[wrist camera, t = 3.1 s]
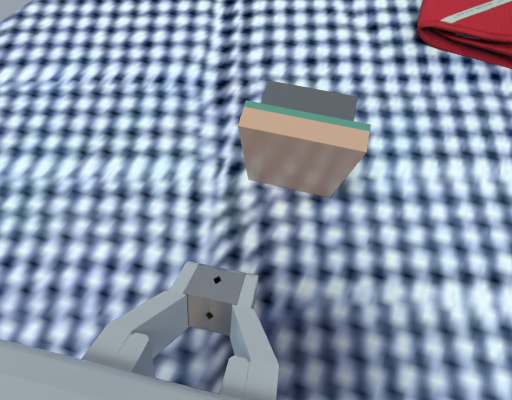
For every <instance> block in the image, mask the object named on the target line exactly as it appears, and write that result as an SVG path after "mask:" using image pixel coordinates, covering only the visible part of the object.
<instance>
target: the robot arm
mask: <svg viewBox="0 0 512 400" xmlns="http://www.w3.org/2000/svg"><path fill="white" fill-rule="evenodd" d="M257 283H258V275H254V274H249V273H244V272H239V271H234V270H228V269H222V268H218V267H213V266H209V265H205V264H199V263H195V262H191V261H188V262H187V263H186V264H185V265H184V267H183V269H182V270H181V272H180V274H179V276H178V277H177V279H176V281H175V282H174V284H173V286H172V287H171V289H170V291H167V290H165V291H164V292H162V293H160V294H159V295H157V296H155V297H153V298H152V299H150V300H148V301H147V302H145V303H143V304H141V305H140V306H138V307H136V308H135V309H133V310H131V311H129V312H128V313H126V314H124V315H123V316H121V317H119V318H117V319H116V320H114V321H112V322H111V323H109V324H107V326H106V327H105V328H104V330H103V331H102V332H101V334H100V335H99V336H98V338H97V339H96V340H95V342H94V343H93V344H92V346H91V347H90V348H89V350H88V351H87V352H86V354H85V355H84V356H83V358H82V359H78V358H74V357H70V356H66V355H62V354H58V353H54V352H50V351H46V350H42V349H38V348H34V347H30V346H26V345H22V344H18V343H14V342H10V341H6V340H2V339H0V400H276V395H277V384H278V373H279V364H278V361H277V359H276V357H275V355H274V352H273V350H272V348H271V345H270V343H269V341H268V339H267V336H266V334H265V332H264V329H263V327H262V325H261V323H260V320H259V318H258V316H257V313H256V311H255V309H254V303H255V297H256V290H257ZM188 326H189V327H194V328H199V329H204V330H209V331H213V332H217V333H221V334H225V335H229V336H230V340H231V343H232V347H233V351H234V355H235V356H232V357H231V358H229V361H228V364H227V368H226V372H225V375H224V379H223V383H222V386H221V390H220V393H219V394H217V393H213V392H209V391H205V390H201V389H197V388H193V387H189V386H185V385H181V384H177V383H173V382H169V381H165V380H161V379H157V378H155V372H154V366H153V360H152V359H153V358H154V357H155V356H156V355H158V354H159V353H160V352H161V351H162V350H163V349H164V348H166V347H167V346H168V345H169V344H170V343H171V342H172V341H174V340H175V339H176V338H177V337H178V336H179V335H180V334H182V333H183V332H184V331H185V330H186V329H187V328H188Z"/></svg>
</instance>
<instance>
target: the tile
mask: <svg viewBox="0 0 512 400" xmlns="http://www.w3.org/2000/svg"><path fill="white" fill-rule="evenodd" d="M370 126H371V125H370V124H365V123H359V122H354V121H349V120H344V119H339V118H334V117H329V116H323V115H318V114H313V113H308V112H303V111H298V110H293V109H287V108H282V107H277V106H272V105H267V104H262V103H257V102H251V101H246V102H245V105H244V109H243V112H242V115H241V118H240V122H239V125H238V127H239V133H240V138H241V143H242V148H243V154H244V159H245V164H246V169H247V175H248V180H253V181H257V182H262V183H266V184H270V185H275V186H279V187H284V188H288V189H292V190H297V191H301V192H305V193H310V194H314V195H319V196H323V197H327V198H330V197H331V196H332V194H333V193H334V192H335V191H336V189H337V188H338V187H339V186H340V184H341V183H342V182H343V181H344V179H345V178H346V177H347V176H348V174H349V173H350V172H351V171H352V169H353V168H354V167H355V166H356V164H357V163H358V162H359V161H360V159H361V158H362V157H363V156H364V155H365V153H366V152H367V145H368V139H369V132H370Z"/></svg>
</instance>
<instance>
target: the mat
mask: <svg viewBox="0 0 512 400" xmlns="http://www.w3.org/2000/svg"><path fill="white" fill-rule="evenodd" d="M356 102H357V97H355V96H350V95H345V94H339V93H334V92H328V91H323V90H318V89H312V88H307V87H301V86H296V85H290V84H285V83H280V82H274V81H269V80H268V82H267V85H266V89H265V92H264V96H263V99H262V102H261V103H262V104H267V105H272V106H277V107H282V108H287V109H293V110H298V111H303V112H308V113H313V114H318V115H323V116H329V117H334V118H339V119H344V120H349V121H353V119H354V114H355V108H356Z"/></svg>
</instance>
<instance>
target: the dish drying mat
mask: <svg viewBox="0 0 512 400" xmlns="http://www.w3.org/2000/svg"><path fill="white" fill-rule="evenodd" d="M417 34H418V35H419V37H420V38H421V39H422V40H423V41H425V42H426V43H427V44H429V45H431V46H433V47H435V48H437V49H440V50H443V51H447V52H450V53H454V54H458V55H462V56H466V57H470V58H473V59H477V60H481V61H485V62H488V63H492V64H496V65H500V66H503V67H507V68H510V69H512V0H423V3H422V6H421V10H420V14H419V18H418V23H417Z"/></svg>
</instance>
